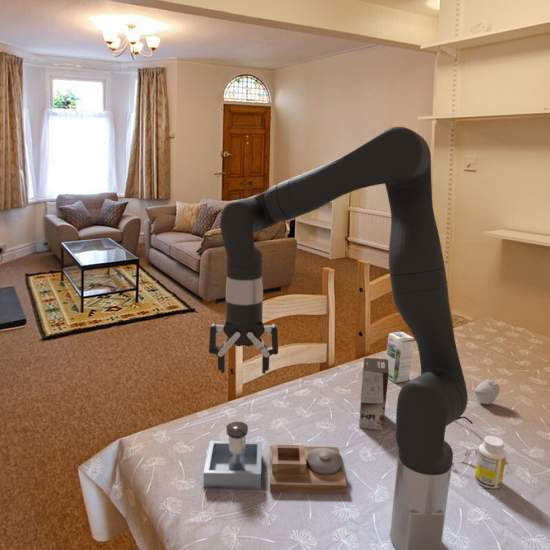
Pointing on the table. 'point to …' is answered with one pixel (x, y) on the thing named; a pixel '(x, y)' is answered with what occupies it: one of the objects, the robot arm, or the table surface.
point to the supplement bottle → (490, 462)
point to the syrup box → (399, 356)
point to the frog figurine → (487, 391)
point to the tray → (225, 478)
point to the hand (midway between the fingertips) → (243, 371)
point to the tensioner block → (306, 469)
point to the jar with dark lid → (237, 445)
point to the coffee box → (373, 393)
